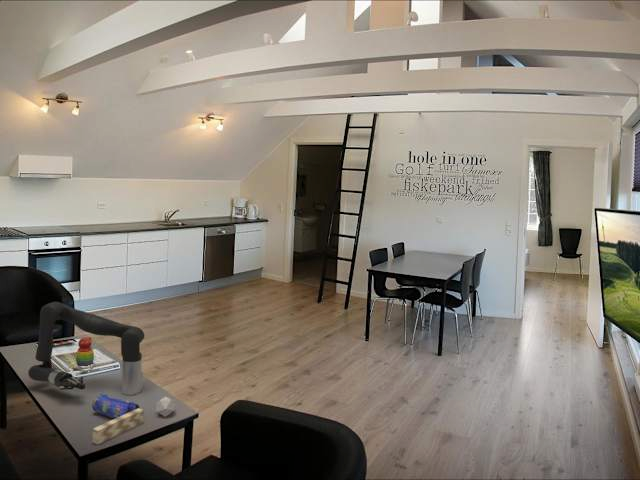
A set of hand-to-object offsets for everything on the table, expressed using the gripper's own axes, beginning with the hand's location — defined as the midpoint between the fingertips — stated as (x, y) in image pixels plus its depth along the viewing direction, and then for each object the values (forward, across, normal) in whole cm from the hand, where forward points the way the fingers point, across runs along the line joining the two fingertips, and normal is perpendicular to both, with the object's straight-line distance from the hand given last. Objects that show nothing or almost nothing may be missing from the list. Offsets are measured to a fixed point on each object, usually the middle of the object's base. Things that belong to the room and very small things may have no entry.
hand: (83, 387), depth 244 cm
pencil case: (+21, +1, +10) cm, 23 cm away
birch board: (+34, -8, +10) cm, 36 cm away
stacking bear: (-40, +30, +9) cm, 51 cm away
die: (+37, +16, +10) cm, 42 cm away
